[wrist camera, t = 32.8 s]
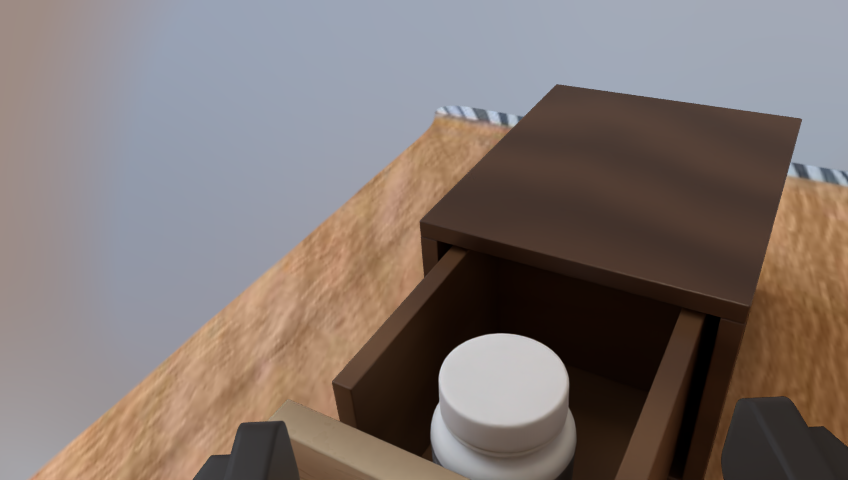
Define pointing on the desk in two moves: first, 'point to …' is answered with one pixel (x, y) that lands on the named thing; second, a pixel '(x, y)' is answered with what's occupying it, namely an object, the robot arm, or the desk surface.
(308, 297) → the desk surface
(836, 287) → the desk surface
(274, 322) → the desk surface
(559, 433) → the pill bottle
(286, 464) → the robot arm
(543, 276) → the drawer
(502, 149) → the cabinet
